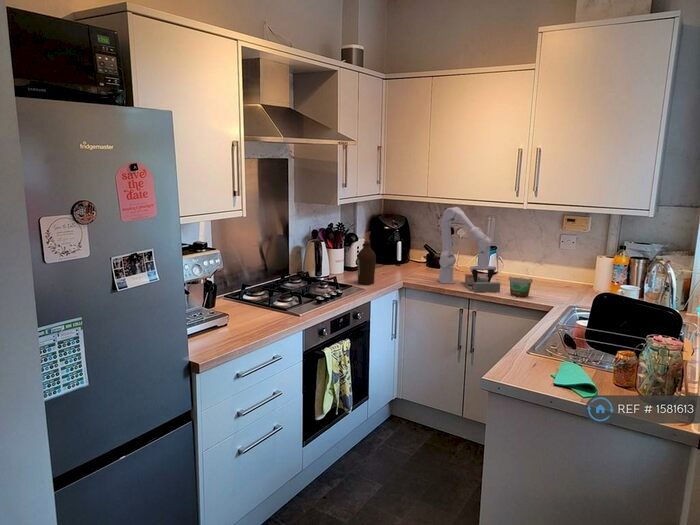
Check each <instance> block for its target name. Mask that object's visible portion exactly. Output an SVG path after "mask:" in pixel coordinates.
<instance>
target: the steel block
mask: <svg viewBox="0 0 700 525" xmlns="http://www.w3.org/2000/svg"><path fill="white" fill-rule="evenodd" d="M477 282H488V277H487V276H486V275H477Z"/></svg>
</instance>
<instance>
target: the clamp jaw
mask: <svg viewBox="0 0 700 525" xmlns="http://www.w3.org/2000/svg"><path fill="white" fill-rule="evenodd" d="M478 275H486V276H487V277H488V273H478ZM464 283H466V284H467V285H468V286H474V278H473V274H472V273H465V274H464Z"/></svg>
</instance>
